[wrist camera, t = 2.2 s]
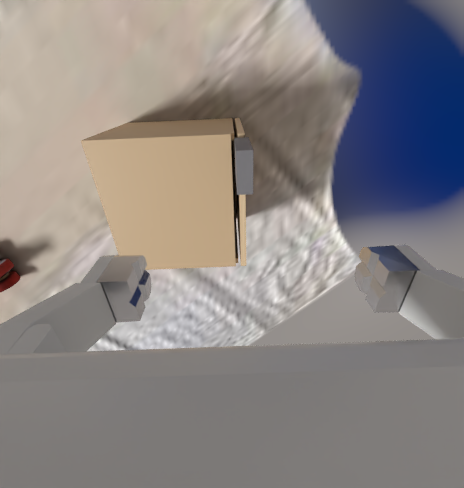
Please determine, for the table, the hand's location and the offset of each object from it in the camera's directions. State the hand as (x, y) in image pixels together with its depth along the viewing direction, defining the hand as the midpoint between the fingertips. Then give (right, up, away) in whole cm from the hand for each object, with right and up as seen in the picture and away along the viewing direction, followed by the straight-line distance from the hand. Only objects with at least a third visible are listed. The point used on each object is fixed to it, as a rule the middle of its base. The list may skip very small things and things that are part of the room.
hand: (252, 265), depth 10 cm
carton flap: (0, +10, +25) cm, 28 cm away
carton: (-7, +10, +26) cm, 29 cm away
